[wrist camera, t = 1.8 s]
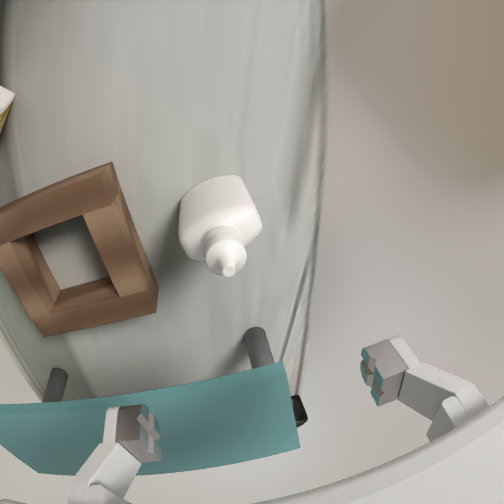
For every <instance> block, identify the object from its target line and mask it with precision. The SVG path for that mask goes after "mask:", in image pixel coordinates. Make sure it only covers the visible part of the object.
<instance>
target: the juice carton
mask: <svg viewBox="0 0 504 504" xmlns="http://www.w3.org/2000/svg"><path fill="white" fill-rule="evenodd" d="M14 97H15V94H14V93H13V92H11V91H10V90H8V89H6V88H4V87H2V86H0V134H1V131H2V129H3V126H4V123H5V120H6V118H7V115H8V112H9V110H10V107H11V105H12V102H13V100H14Z"/></svg>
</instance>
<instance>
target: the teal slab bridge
mask: <svg viewBox="0 0 504 504" xmlns="http://www.w3.org/2000/svg"><path fill="white" fill-rule="evenodd" d="M245 341H246V345H247V349H248V354H249V358H250V362H251V366H252V369H251V370H247V371H243V372H239V373H234V374H230V375H226V376H221V377H217V378H212V379H208V380H203V381H198V382H193V383H188V384H183V385H178V386H173V387H167V388H162V389H156V390H150V391H144V392H137V393H131V394H124V395H117V396H109V397H101V398H92V399H83V400H73V401H62V398H63V394H64V390H65V386H66V382H67V378H68V374H67V373H66V372H65V371H64V370H62V369H60V368H53V369H52V371H51V374H50V378H49V381H48V384H47V388H46V391H45V394H44V398H43V402H42V403H32V404H5V405H4V404H1V405H0V444H1V445H2V446H3V447H4V448H6V449H7V450H8V451H9V452H11V453H12V454H13V455H14V456H16V457H17V458H18V459H20V460H21V461H22V462H24V463H25V464H26V465H28V466H29V467H31V468H32V469H33V470H35V471H37V472H38V473H45V474H55V475H71V476H72V475H73V476H75V475H76V474H77V472H78V471H79V470H80V468H81V467H82V466H83V465H84V463H85V462H86V461H87V459H88V458H89V457H90V455H91V454H92V453H93V451H94V450H95V449H96V447H97V446H98V445H99V443H103V434H104V426H105V418H106V411H107V410H108V408H111V407H119V406H130V405H138V404H146V405H147V407H148V408H149V413H151V414H154V415H155V417H156V418H157V420H158V422H159V426H160V433H161V436H160V438H159V439H158V441H157V442H158V444H159V445H160V446H161V461H153V462H144V463H141V466H140V468H139V470H138V472H137V474H136V475H152V474H164V473H174V472H183V471H191V470H198V469H205V468H212V467H218V466H224V465H229V464H235V463H240V462H245V461H249V460H254V459H259V458H263V457H267V456H271V455H275V454H279V453H283V452H287V451H291V450H294V449H297V448H300V444H299V438H298V433H297V427H296V422H295V417H294V411H293V406H292V401H291V396H290V391H289V385H288V380H287V375H286V371H285V368H284V365H283V362H282V361H281V362H277V363H274V359H273V356H272V353H271V350H270V346H269V343H268V340H267V337H266V333H265V331H264V329H262V328H260V327H253V328H250V329H249V330H247V331H246V333H245Z"/></svg>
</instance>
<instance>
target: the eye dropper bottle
mask: <svg viewBox="0 0 504 504" xmlns="http://www.w3.org/2000/svg"><path fill="white" fill-rule="evenodd" d="M261 230H262V223H261V220H260V217H259V214H258V212H257V210H256V207H255V205H254V203H253V201H252V199H251V197H250V195H249V193H248V191H247V189H246V187H245V185H244V183H243V181H242V180H241V178H240V177H238V176H234V175H227V176H219V177H214V178H211V179H208V180H206V181H203V182H201V183H200V184H198V185H196V186H195V187H193V188H192V189H191V190H190V191H189V192H187V193H186V194H185V195H184V197H183V198H182V199H181V202H180V213H179V241H180V243H181V246H182V247H183V249H184V251H185V253H186V254H187V256H188V257H189V258H190V259H192V260H197V261H205V263H206V265H207V267H208V268H209V270H211V271H212V272H214V273H216V274H217V275H223V276H226V277H231V276H233V275H234V274H235V273H236V272H238V271H240V270H241V268H242V267H243V266H244V265H245V263H246V259H247V254H246V250H245V247H247V246H248V245H249V244H250V243H251V242H252V241H253V240H254V239H255V238H256V237H257V236H258V235H259V234H260V232H261Z"/></svg>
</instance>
